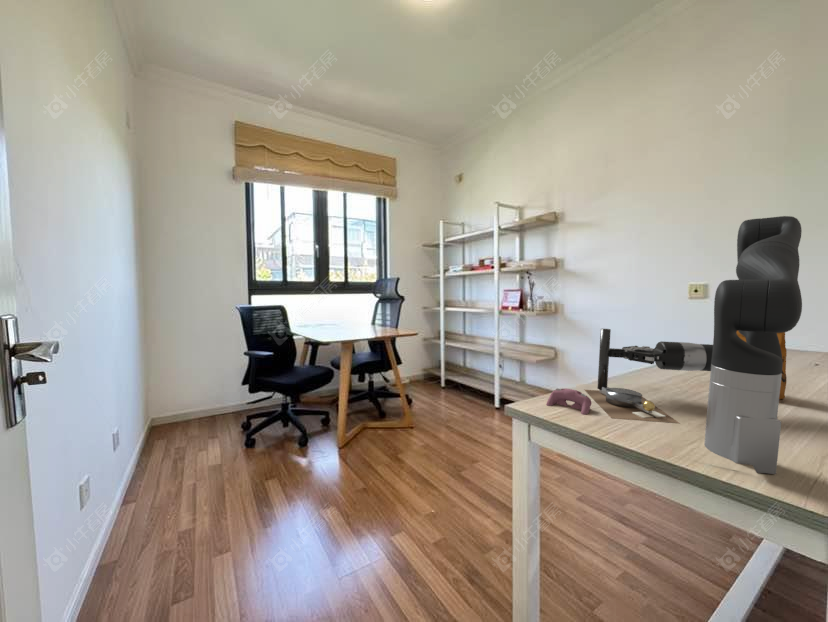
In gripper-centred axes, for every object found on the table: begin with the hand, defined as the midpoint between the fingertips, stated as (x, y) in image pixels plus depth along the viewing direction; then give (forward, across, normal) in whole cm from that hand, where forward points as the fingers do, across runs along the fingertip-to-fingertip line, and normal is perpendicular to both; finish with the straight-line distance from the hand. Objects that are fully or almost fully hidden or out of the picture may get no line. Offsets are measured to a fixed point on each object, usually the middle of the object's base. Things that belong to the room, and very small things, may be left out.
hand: (607, 352), depth 96 cm
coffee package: (-44, -15, +14) cm, 48 cm away
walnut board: (-2, +9, +13) cm, 16 cm away
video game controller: (+12, +15, +13) cm, 24 cm away
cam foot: (-2, +8, +11) cm, 14 cm away
